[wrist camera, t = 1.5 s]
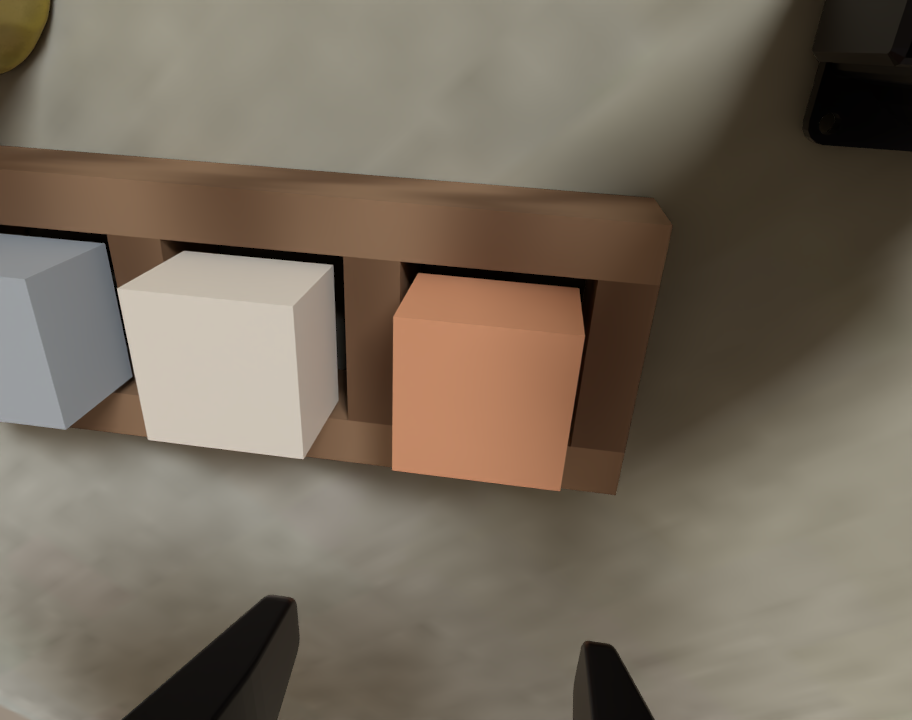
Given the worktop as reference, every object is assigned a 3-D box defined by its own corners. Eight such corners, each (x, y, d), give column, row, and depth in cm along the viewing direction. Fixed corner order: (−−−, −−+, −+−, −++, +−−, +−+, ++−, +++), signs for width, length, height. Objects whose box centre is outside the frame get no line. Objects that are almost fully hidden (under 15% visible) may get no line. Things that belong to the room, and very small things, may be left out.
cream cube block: (333, 265, 17) (292, 306, 14) (338, 400, 19) (303, 459, 16) (183, 250, 17) (117, 288, 14) (204, 384, 19) (148, 440, 16)
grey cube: (105, 243, 17) (24, 279, 15) (132, 376, 19) (66, 429, 17) (-35, 230, 18) (-138, 262, 15) (6, 362, 20) (-79, 411, 17)
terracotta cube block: (578, 287, 16) (584, 336, 13) (558, 425, 18) (559, 491, 15) (418, 272, 17) (393, 316, 14) (414, 409, 18) (391, 470, 16)
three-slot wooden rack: (653, 197, 17) (672, 225, 15) (606, 438, 21) (615, 495, 18) (-41, 142, 19) (-134, 157, 17) (27, 370, 23) (-42, 413, 20)
